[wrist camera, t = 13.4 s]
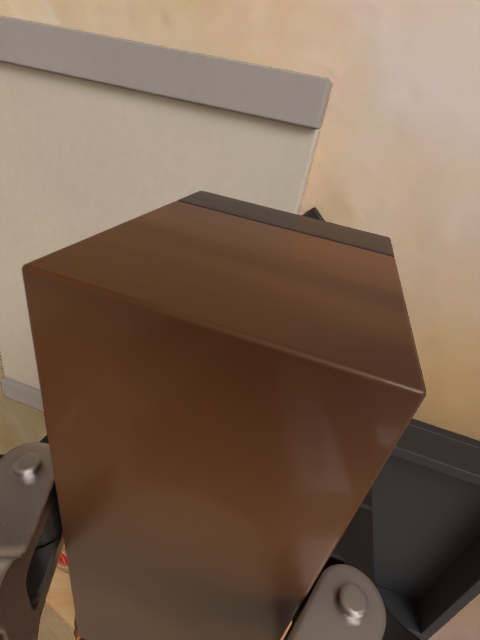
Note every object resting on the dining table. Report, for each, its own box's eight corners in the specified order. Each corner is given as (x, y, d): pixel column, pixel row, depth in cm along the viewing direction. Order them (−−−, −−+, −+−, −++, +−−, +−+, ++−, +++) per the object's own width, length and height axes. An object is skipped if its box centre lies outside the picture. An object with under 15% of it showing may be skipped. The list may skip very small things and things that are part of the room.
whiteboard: (-49, 9, 17) (-80, -1, 16) (332, 82, 14) (330, 78, 13) (18, 385, 29) (3, 396, 27) (232, 467, 26) (225, 484, 24)
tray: (368, 403, 20) (369, 438, 18) (549, 463, 18) (574, 509, 16) (297, 548, 28) (291, 584, 25) (420, 598, 26) (425, 642, 24)
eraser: (199, 189, 10) (17, 263, 4) (391, 237, 9) (429, 394, 4) (169, 471, 16) (77, 636, 11) (279, 515, 15) (236, 715, 10)
